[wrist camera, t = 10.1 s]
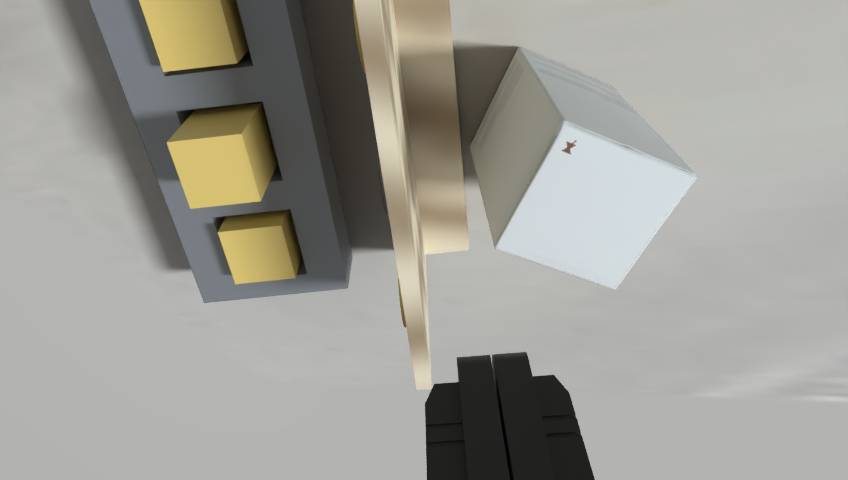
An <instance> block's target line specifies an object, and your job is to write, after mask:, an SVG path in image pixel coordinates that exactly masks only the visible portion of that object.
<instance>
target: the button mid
mask: <svg viewBox="0 0 848 480" xmlns="http://www.w3.org/2000/svg"><path fill="white" fill-rule="evenodd" d="M167 145H168V148H169V151H170V154H171V156H172V159H173V162H174V165H175V167H176V170H177V173H178V176H179V179H180V181H181V184H182V187H183V190H184V193H185V195H186V198H187V201H188V204H189V207H190V209H194V208H204V207H213V206H222V205H231V204H241V203H250V202H259V201H261V200H262V198H263V195H264V193H265V191H266V189H267V186H268V184H269V182H270V180H271V177H272V175H273V173H274V170H275V168H276V166H277V160H276V156H275V152H274V148H273V144H272V141H271V137H270V133H269V129H268V125H267V121H266V117H265V114H264V110H263V106H262V102H258V103H249V104H240V105H232V106H223V107H214V108H205V109H197V110H195V111H194V112H193V113H192V114H191V115H190V116H189V117H188V118H187V120H186V121H185V122H184V123H183V124H182V125H181V126H180V128H179V129H178V130H177V131H176V132H175V133H174V134H173V135H172V137H171V138H170V139H169V140H168V141H167Z"/></svg>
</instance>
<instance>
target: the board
mask: <svg viewBox="0 0 848 480" xmlns="http://www.w3.org/2000/svg"><path fill="white" fill-rule="evenodd" d="M236 1H237V5H238V9H239V12H240V16H241V20H242V24H243V28H244V32H245V36H246V39H247V43H248V47H249V51H248V52H247V53H246V54H245V55H244V56H243V57H242V59H241V60H240V61H239V62H238V63H236V64H228V65H219V66H211V67H202V68H194V69H185V70H177V71H168V72H163V70H162V67H161V64H160V61H159V58H158V55H157V52H156V49H155V46H154V43H153V40H152V37H151V34H150V31H149V28H148V25H147V22H146V20H145V17H144V14H143V11H142V8H141V5H140V2H139V0H89V2H90V4H91V7H92V10H93V12H94V15H95V17H96V20H97V23H98V25H99V28H100V31H101V33H102V36H103V38H104V41H105V44H106V46H107V49H108V52H109V54H110V57H111V59H112V62H113V65H114V67H115V70H116V73H117V75H118V78H119V80H120V83H121V86H122V88H123V91H124V94H125V96H126V99H127V101H128V104H129V107H130V109H131V112H132V115H133V117H134V120H135V122H136V125H137V128H138V130H139V133H140V136H141V138H142V141H143V143H144V146H145V149H146V151H147V154H148V157H149V159H150V162H151V164H152V167H153V170H154V172H155V175H156V178H157V180H158V183H159V185H160V188H161V191H162V193H163V196H164V199H165V201H166V204H167V206H168V209H169V212H170V214H171V217H172V220H173V222H174V225H175V227H176V230H177V233H178V235H179V238H180V241H181V243H182V246H183V248H184V251H185V254H186V256H187V259H188V262H189V264H190V267H191V270H192V272H193V275H194V277H195V280H196V283H197V285H198V288H199V291H200V293H201V296H202V298H203V301H204V303H209V302H218V301H228V300H238V299H248V298H258V297H267V296H277V295H287V294H297V293H307V292H316V291H326V290H336V289H346V288H348V284H349V277H350V270H351V263H352V251H351V246H350V241H349V236H348V232H347V227H346V222H345V217H344V212H343V207H342V202H341V198H340V193H339V188H338V183H337V178H336V173H335V168H334V164H333V159H332V154H331V149H330V144H329V139H328V134H327V130H326V125H325V120H324V115H323V110H322V105H321V100H320V96H319V91H318V86H317V81H316V76H315V71H314V66H313V61H312V57H311V52H310V47H309V42H308V37H307V32H306V27H305V23H304V18H303V13H302V8H301V3H300V0H236ZM261 101H263V105H264V109H265V113H266V117H267V121H268V125H269V128H270V132H271V136H272V140H273V144H274V148H275V152H276V160H277V166H276V168H275V170H274V173H273V175H272V177H271V180H270V182H269V184H268V186H267V189H266V191H265V193H264V195H263V198H262V200H261V201H259V202H250V203H241V204H231V205H222V206H213V207H204V208H194V209H190V207H189V204H188V201H187V198H186V195H185V193H184V190H183V187H182V184H181V181H180V179H179V176H178V173H177V170H176V167H175V165H174V162H173V159H172V156H171V154H170V151H169V148H168V145H167V141H168V140H169V139H170V138H171V137H172V135H173V134H174V133H175V132H176V131H177V130H178V129H179V128H180V126H181V125H182V124H183V123H184V122H185V121H186V120H187V118H188V117H189V116H190V115H191V114H192V113H193V112H194V111H195V110H197V109H203V108H209V107H217V106H226V105H235V104H244V103H252V102H261ZM287 209H290V210H291V214H292V217H293V221H294V225H295V229H296V233H297V237H298V241H299V245H300V248H301V252H302V257H301V260H300V264H299V268H298V271H297V275H296V278H292V279H283V280H273V281H263V282H253V283H244V284H235V282H234V279H233V276H232V273H231V270H230V267H229V264H228V261H227V259H226V256H225V253H224V250H223V247H222V244H221V241H220V238H219V235H218V231H219V229H220V227H221V225H222V223H223V221H224V219H225V217H226V216H231V215H241V214H250V213H259V212H269V211H278V210H287Z"/></svg>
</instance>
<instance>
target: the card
mask: <svg viewBox="0 0 848 480" xmlns="http://www.w3.org/2000/svg"><path fill="white" fill-rule="evenodd" d="M353 13H354V24H355V32H356V39H357V45H358V51H359V56H360V61H361V65H362V69H363V72H364V73H365V74H366V78H367V84H368V90H369V96H370V102H371V109H372V115H373V121H374V127H375V134H376V140H377V146H378V152H379V173H380V183H381V191H382V198H383V204H384V208H385V212H386V215H387V216H389V221H390V227H391V233H392V239H393V246H394V252H395V258H396V264H397V270H398V282H399V297H400V306H401V314H402V320H403V324H404V327H407V333H408V339H409V345H410V351H411V358H412V364H413V370H414V376H415V382H416V389H417V390H425V389H432V388H431V365H430V343H429V321H428V299H427V277H426V255H425V254H435V253H445V252H454V251H464V250H469V237H468V225H467V213H466V201H465V189H464V176H463V164H462V152H461V140H460V127H459V115H458V103H457V91H456V79H455V66H454V54H453V42H452V30H451V17H450V5H449V0H353Z"/></svg>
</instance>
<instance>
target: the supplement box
mask: <svg viewBox="0 0 848 480" xmlns="http://www.w3.org/2000/svg"><path fill="white" fill-rule="evenodd" d="M470 150H471V154H472V158H473V162H474V166H475V170H476V174H477V178H478V182H479V186H480V190H481V194H482V199H483V203H484V207H485V211H486V215H487V219H488V223H489V227H490V231H491V235H492V239H493V243H494V248H495V249H497V250H500V251H503V252H506V253H509V254H512V255H514V256H517V257H520V258H523V259H526V260H529V261H532V262H535V263H537V264H540V265H543V266H546V267H549V268H552V269H555V270H558V271H561V272H564V273H567V274H570V275H572V276H575V277H578V278H581V279H584V280H587V281H590V282H593V283H596V284H598V285H601V286H604V287H607V288H610V289H613V290H615V289H616V288H617V287H618V285H619V284H620V283H621V281H622V280H623V279H624V277H625V276H626V274H627V273H628V272H629V270H630V269H631V268H632V266H633V265H634V263H635V262H636V260H637V259H638V258H639V256H640V255H641V253H642V252H643V251H644V249H645V248H646V247H647V245H648V244H649V242H650V241H651V240H652V238H653V237H654V235H655V234H656V232H657V231H658V229H659V228H660V227H661V225H662V224H663V223H664V221H665V220H666V219H667V218H668V216H669V215H670V214H671V212H672V211H673V210H674V208H675V207H676V206H677V204H678V203H679V202H680V200H681V199H682V198H683V196H684V195H685V194H686V192H687V191H688V189H689V188H690V187H691V186H692V184H693V183H694V182H695V180H696V179H697V175H696V174H695V173H694V172H693V171H692V170H691V168H690V167H689V166H688V165H687V164H686V163H685V162H684V161H683V159H682V158H681V157H680V156H679V155H678V154H677V153H676V152H675V151H674V150H673V149H672V148H671V147H670V146H669V145H668V144H667V143H666V142H665V140H664V139H663V138H662V137H661V136H660V135H659V134H658V133H657V132H656V131H655V130H654V129H653V128H652V127H651V126H650V125H649V124H648V123H647V122H646V121H645V120H644V119H643V118H642V117H641V116H640V115H639V114H638V112H637V111H636V110H635V109H634V108H633V107H632V106H631V105H630V104H629V103H628V102H627V101H626V100H625V99H624V98H623V96H622V95H621V94H620V93H619V92H618V91H617V90H616V89H615V88H613V87H610V86H608V85H606V84H604V83H602V82H600V81H598V80H595V79H593V78H591V77H589V76H586V75H584V74H582V73H579V72H577V71H575V70H572V69H570V68H568V67H565V66H563V65H561V64H558V63H556V62H554V61H551V60H549V59H547V58H544V57H542V56H540V55H537V54H535V53H533V52H530V51H528V50H526V49H523V48H521V47H519V48H518V49H517V51H516V53H515V55H514V57H513V59H512V61H511V63H510V65H509V67H508V69H507V71H506V73H505V75H504V77H503V79H502V81H501V83H500V85H499V87H498V89H497V91H496V94H495V96H494V98H493V100H492V102H491V104H490V106H489V108H488V110H487V112H486V114H485V116H484V118H483V120H482V122H481V124H480V126H479V128H478V130H477V132H476V134H475V136H474V138H473V141H472V143H471V145H470Z"/></svg>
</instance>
